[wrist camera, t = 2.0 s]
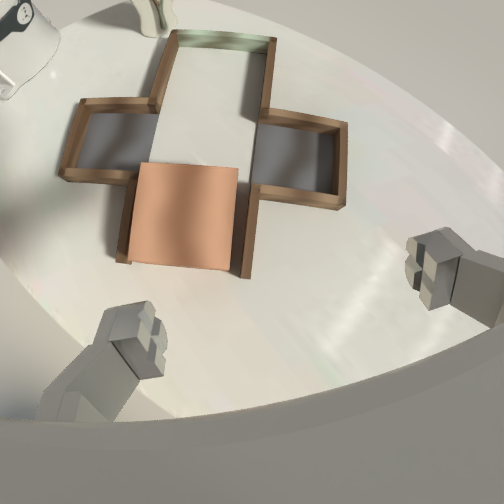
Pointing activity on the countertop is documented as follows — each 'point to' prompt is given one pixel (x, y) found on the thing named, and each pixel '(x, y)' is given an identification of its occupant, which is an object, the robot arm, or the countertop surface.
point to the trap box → (265, 156)
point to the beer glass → (155, 17)
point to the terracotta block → (183, 216)
